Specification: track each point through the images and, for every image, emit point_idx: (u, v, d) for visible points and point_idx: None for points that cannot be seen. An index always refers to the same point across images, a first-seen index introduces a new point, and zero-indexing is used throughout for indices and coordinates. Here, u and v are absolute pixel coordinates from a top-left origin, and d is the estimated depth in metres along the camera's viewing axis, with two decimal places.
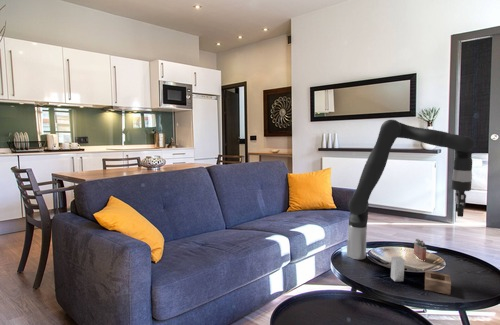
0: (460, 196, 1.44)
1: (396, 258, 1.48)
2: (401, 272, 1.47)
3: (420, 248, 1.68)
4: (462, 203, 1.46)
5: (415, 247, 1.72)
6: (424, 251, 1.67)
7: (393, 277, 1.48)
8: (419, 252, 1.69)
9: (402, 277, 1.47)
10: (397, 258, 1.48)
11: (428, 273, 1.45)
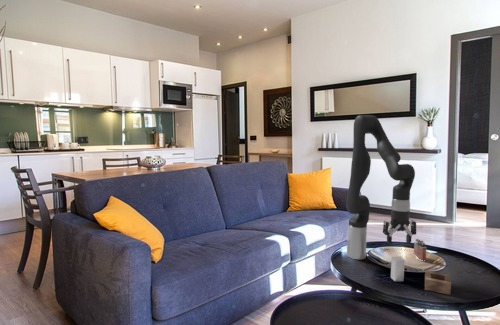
0: None
1: (396, 258, 1.48)
2: (401, 272, 1.47)
3: (420, 248, 1.68)
4: None
5: (415, 247, 1.72)
6: (424, 251, 1.67)
7: (393, 277, 1.48)
8: (419, 252, 1.69)
9: (402, 277, 1.47)
10: (397, 258, 1.48)
11: (428, 273, 1.45)
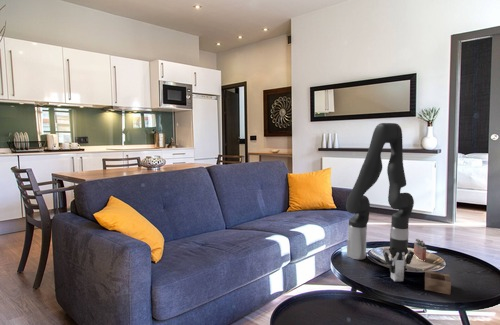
0: None
1: None
2: (400, 272, 1.47)
3: (420, 248, 1.68)
4: None
5: (415, 247, 1.72)
6: (424, 251, 1.67)
7: (393, 277, 1.48)
8: (419, 252, 1.69)
9: (402, 277, 1.47)
10: None
11: (428, 273, 1.45)
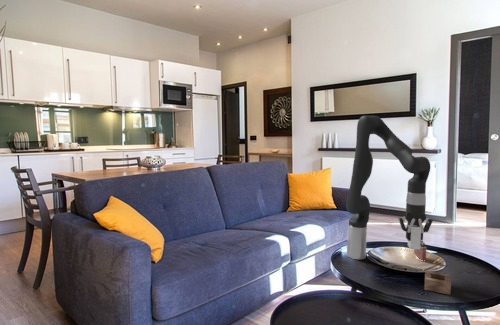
0: None
1: None
2: (417, 239, 1.41)
3: (420, 248, 1.68)
4: None
5: None
6: (424, 251, 1.67)
7: (409, 245, 1.43)
8: (419, 252, 1.69)
9: (419, 245, 1.41)
10: (414, 225, 1.43)
11: (428, 273, 1.45)
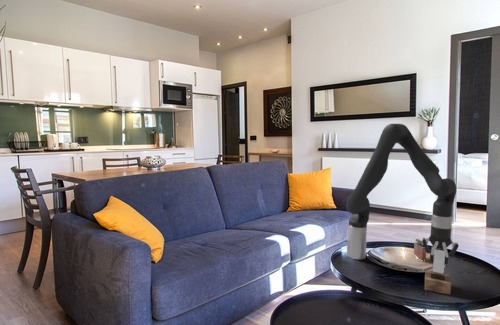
0: None
1: (437, 248, 1.40)
2: (440, 263, 1.38)
3: (420, 248, 1.68)
4: None
5: (415, 247, 1.72)
6: (424, 251, 1.67)
7: None
8: (419, 252, 1.69)
9: (442, 269, 1.38)
10: (438, 248, 1.40)
11: (428, 273, 1.45)
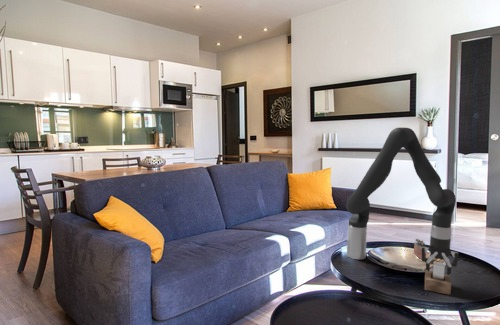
0: None
1: (437, 263, 1.41)
2: (440, 278, 1.39)
3: (420, 248, 1.68)
4: None
5: (415, 247, 1.72)
6: None
7: None
8: (419, 252, 1.69)
9: None
10: (438, 263, 1.40)
11: (428, 273, 1.45)
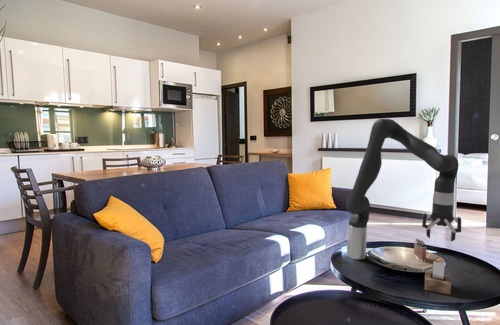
0: None
1: (436, 263, 1.41)
2: (439, 278, 1.39)
3: (420, 248, 1.68)
4: None
5: (415, 247, 1.72)
6: (424, 251, 1.67)
7: None
8: (419, 252, 1.69)
9: None
10: (438, 263, 1.41)
11: (428, 273, 1.45)
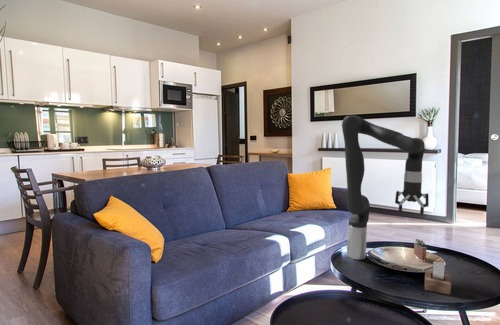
0: None
1: (436, 263, 1.41)
2: (440, 278, 1.39)
3: (420, 248, 1.68)
4: (420, 202, 1.53)
5: (415, 247, 1.72)
6: (424, 251, 1.67)
7: None
8: (419, 252, 1.69)
9: None
10: (438, 263, 1.41)
11: (428, 273, 1.45)
